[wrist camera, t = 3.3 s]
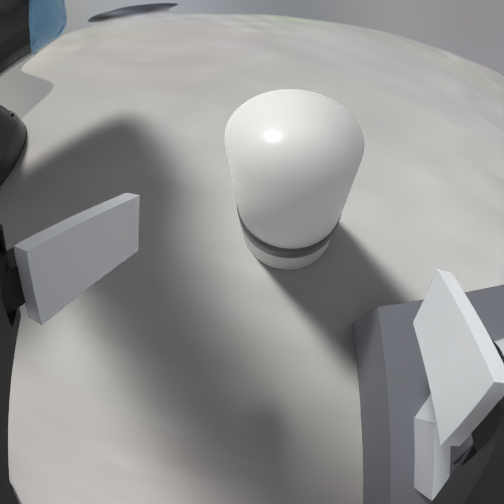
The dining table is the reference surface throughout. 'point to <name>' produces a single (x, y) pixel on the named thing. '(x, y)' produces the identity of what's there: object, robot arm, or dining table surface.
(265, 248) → the white glossy rounded part
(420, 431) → the octagonal socket base
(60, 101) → the dining table surface
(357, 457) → the dining table surface
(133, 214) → the robot arm
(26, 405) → the dining table surface
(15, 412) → the dining table surface
